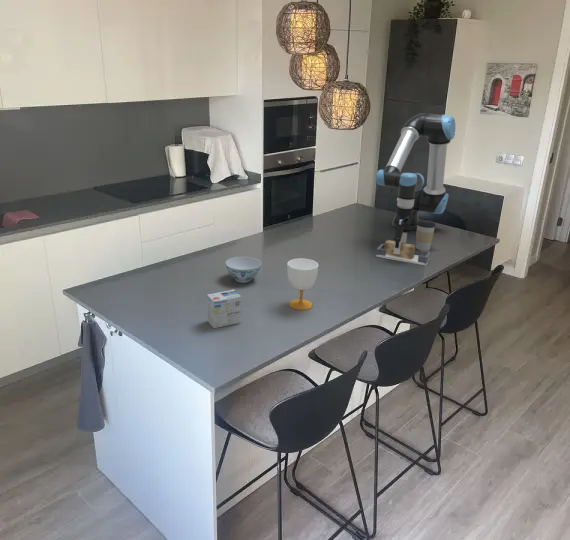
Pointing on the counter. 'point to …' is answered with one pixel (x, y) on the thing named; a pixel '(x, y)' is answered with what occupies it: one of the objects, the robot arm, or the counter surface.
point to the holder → (420, 259)
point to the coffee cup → (424, 234)
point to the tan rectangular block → (405, 249)
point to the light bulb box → (224, 308)
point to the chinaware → (243, 268)
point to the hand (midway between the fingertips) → (399, 249)
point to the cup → (301, 279)
